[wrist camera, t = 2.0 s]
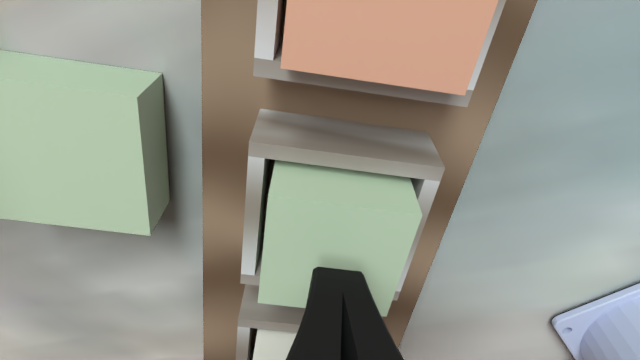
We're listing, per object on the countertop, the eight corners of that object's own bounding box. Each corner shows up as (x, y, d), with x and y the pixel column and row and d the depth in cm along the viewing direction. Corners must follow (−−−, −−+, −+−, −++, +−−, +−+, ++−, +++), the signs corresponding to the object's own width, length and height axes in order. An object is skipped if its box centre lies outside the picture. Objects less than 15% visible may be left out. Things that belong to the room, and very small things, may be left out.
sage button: (376, 255, 17) (386, 316, 14) (267, 243, 16) (257, 303, 14) (404, 162, 14) (422, 215, 12) (278, 145, 14) (267, 195, 11)
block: (169, 200, 19) (150, 235, 17) (34, 183, 18) (-4, 218, 16) (162, 73, 16) (136, 97, 14) (-3, 49, 15) (-55, 70, 13)
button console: (373, 367, 26) (382, 445, 22) (212, 351, 25) (191, 429, 21) (607, -271, 11) (763, -375, 7) (219, -357, 10) (155, -526, 6)
